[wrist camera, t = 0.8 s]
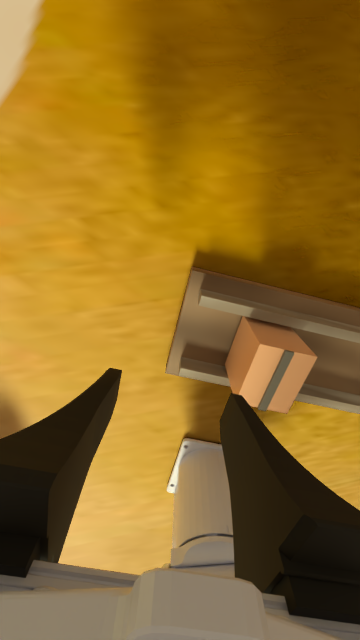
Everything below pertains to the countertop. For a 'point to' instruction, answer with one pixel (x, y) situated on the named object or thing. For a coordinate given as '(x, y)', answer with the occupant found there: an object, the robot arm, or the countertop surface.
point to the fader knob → (268, 364)
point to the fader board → (276, 307)
